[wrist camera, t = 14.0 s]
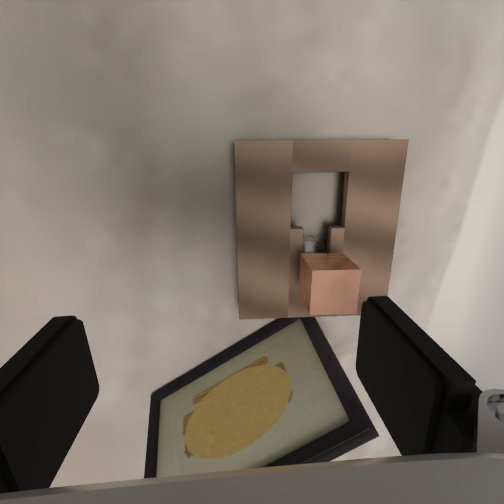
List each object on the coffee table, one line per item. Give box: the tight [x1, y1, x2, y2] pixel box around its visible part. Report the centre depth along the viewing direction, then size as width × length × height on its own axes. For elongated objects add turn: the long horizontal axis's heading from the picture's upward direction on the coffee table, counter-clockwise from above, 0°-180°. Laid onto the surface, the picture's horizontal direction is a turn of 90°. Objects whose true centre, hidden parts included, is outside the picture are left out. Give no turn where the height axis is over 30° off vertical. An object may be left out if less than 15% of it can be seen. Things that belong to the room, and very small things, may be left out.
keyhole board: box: [234, 139, 409, 319], centre depth 32 cm, size 18×16×4 cm
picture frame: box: [144, 317, 379, 479], centre depth 32 cm, size 23×9×15 cm, turn 123°
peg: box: [299, 237, 361, 315], centre depth 29 cm, size 4×4×10 cm
